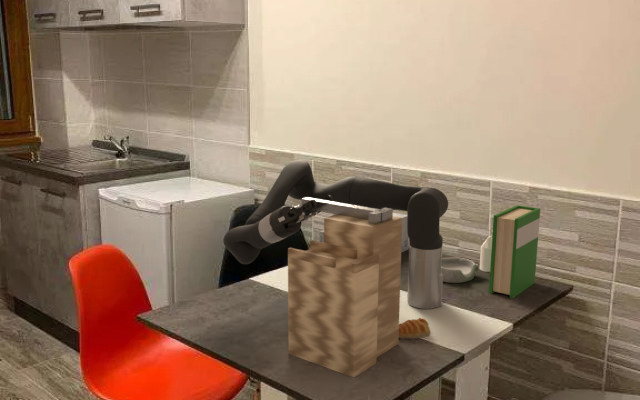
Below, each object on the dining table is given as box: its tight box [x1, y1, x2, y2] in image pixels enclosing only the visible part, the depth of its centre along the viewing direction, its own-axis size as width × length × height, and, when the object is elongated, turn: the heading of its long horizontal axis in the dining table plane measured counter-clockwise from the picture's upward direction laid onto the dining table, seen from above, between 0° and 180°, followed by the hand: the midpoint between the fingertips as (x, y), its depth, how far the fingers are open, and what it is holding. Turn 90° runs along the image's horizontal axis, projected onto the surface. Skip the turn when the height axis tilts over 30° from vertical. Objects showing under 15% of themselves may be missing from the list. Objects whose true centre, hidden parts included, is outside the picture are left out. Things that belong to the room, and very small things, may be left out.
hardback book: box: [488, 204, 541, 299], centre depth 198 cm, size 18×7×24 cm, turn 142°
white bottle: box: [479, 235, 492, 273], centre depth 217 cm, size 6×12×6 cm
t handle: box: [300, 197, 394, 225], centre depth 157 cm, size 24×7×2 cm, turn 52°
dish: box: [441, 257, 480, 284], centre depth 210 cm, size 14×14×5 cm
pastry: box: [399, 317, 432, 340], centre depth 166 cm, size 9×7×4 cm
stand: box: [287, 214, 402, 378], centre depth 154 cm, size 19×21×32 cm
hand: (323, 201), depth 160 cm, fingers open, 6 cm apart
